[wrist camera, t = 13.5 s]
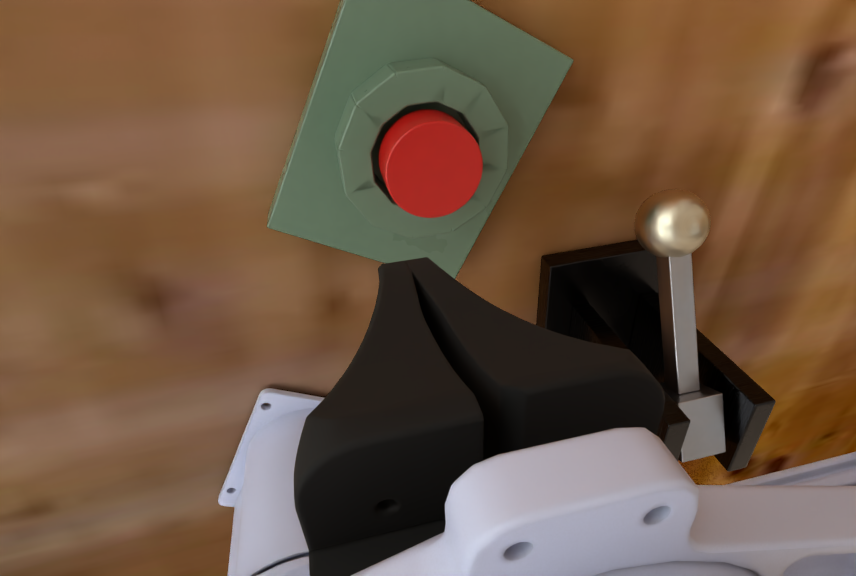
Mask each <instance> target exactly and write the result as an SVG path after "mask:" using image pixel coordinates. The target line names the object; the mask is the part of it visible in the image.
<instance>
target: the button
mask: <svg viewBox="0 0 856 576" xmlns="http://www.w3.org/2000/svg"><path fill="white" fill-rule="evenodd" d="M379 168H380V172H381V175H382V177H383V180H384V182H385V184H386V187H387V189H388V191H389V193H390V195H391V197H392V199H393V200H394V201H395V203H396V204H397V205H398V206H399V207H401V208H402V209H403V210H404V211H406V212H408V213H410V214H412V215H415V216H418V217H424V218H436V217H442V216H445V215H448V214H451V213H453V212H455V211H456V210H458V209H460V208H461V207H462V206H463V205H465V204H466V203H467V202H468V201H469V200H470V198H471V197H472V196H473V195H474V193H475V191H476V190H477V188H478V185H479V183H480V180H481V177H482V171H483V159H482V154H481V150H480V148H479V145H478V143H477V142H476V140H475V139H474V137H473V136H472V135H471V134H470V133H469V132H468V131H467V130H466V129H465V128H464V127H463V126H462V125H461V124H460V123H459V122H458V121H457V120H456V119H455V118H453V117H452V116H450V115H449V114H447V113H444V112H442V111H438V110H433V109H422V110H417V111H413V112H410V113H408V114H406V115H404V116H402V117H401V118H399V119H398V120H397V121H396V122H395V123H393V124H392V126H391V127H390V128H389V129H388V131H387V132H386V134H385V136H384V138H383V140H382V142H381V145H380V149H379Z"/></svg>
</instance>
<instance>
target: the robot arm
mask: <svg viewBox="0 0 856 576" xmlns="http://www.w3.org/2000/svg"><path fill="white" fill-rule="evenodd" d="M378 273H379V290H378V295H377V300H376V305H375V309H374V312H373V315H372V318H371V321H370V324H369V327H368V330H367V332H366V334H365V337H364V339H363V341H362V343H361V345H360V347H359V349H358V351H357V353H356V355H355V357H354V358H353V360H352V362H351V364H350V365H349V367H348V368H347V370H346V371H345V373H344V374H343V376H342V377H341V378H340V380H339V381H338V382H337V384H336V385H335V386H334V388H333V389H332V390H331V392H330V393H329V394H328V395H327V396H326V397H325V398H324V397H318V396H312V395H307V394H301V393H295V392H290V391H284V390H278V389H273V388H267V389H264V390H262V391H261V392H260V394H259V396H258V399H257V401H256V404H255V406H254V409H253V411H252V414H251V416H250V419H249V421H248V424H247V426H246V429H245V431H244V434H243V436H242V439H241V441H240V444H239V446H238V449H237V451H236V454H235V457H234V459H233V462H232V464H231V467H230V469H229V472H228V474H227V477H226V479H225V482H224V484H223V487H222V489H221V492H220V494H219V499H218V503H219V504H220V505H222V506H229V507H235V509H234V519H233V529H232V538H231V548H230V558H229V567H228V576H856V452H853V453H849V454H845V455H841V456H837V457H833V458H829V459H825V460H822V461H818V462H814V463H810V464H806V465H802V466H798V467H794V468H790V469H786V470H782V471H778V472H774V473H770V474H766V475H762V476H758V477H755V478H751V479H747V480H743V481H739V482H735V483H731V484H727V485H696V484H695V483H694V482H693V480H692V479H691V478H690V477H689V475H688V474H687V473H686V471H685V470H684V469H683V467H682V466H681V465H680V464H679V462H678V461H677V460H676V458H675V457H674V456H673V455H672V453H671V452H670V451H669V449H668V448H667V447H666V445H665V444H664V443H663V442H662V440H661V439H660V438H659V437H658V436H656V435H657V431H658V428H659V424H660V421H661V417H662V414H663V410H664V403H665V395H664V391H663V388H662V386H661V385H660V383H659V382H658V381H657V380H656V379H655V377H654V376H653V375H652V374H651V373H650V371H649V370H648V369H647V368H646V367H645V365H644V364H643V363H642V362H641V361H640V360H639V359H638V358H637V357H636V356H635V355H634V354H633V353H632V352H631V351H630V350H628V349H623V348H618V347H613V346H607V345H602V344H597V343H592V342H588V341H584V340H580V339H576V338H573V337H569V336H565V335H562V334H559V333H556V332H553V331H550V330H547V329H545V328H542V327H539V326H537V325H534V324H531V323H529V322H527V321H524V320H522V319H520V318H518V317H516V316H514V315H512V314H510V313H507V312H505V311H503V310H501V309H500V308H498V307H496V306H494V305H492V304H491V303H489V302H488V301H486V300H484V299H483V298H481V297H479V296H478V295H476V294H475V293H473V292H472V291H470V290H469V289H467V288H466V287H465V286H463V285H462V284H461V283H459V282H458V281H457V280H455V279H454V278H453V277H451V276H450V275H449V274H448V273H446V272H445V271H444V270H443V269H441V268H440V267H439V266H438V265H437V264H435V263H434V262H433V261H432V260H430V259H429V258H428V257H424V258H418V259H411V260H405V261H398V262H392V263H386V264H381V266H380V267H379V268H378ZM263 403H269V404H268V405H264V404H263Z"/></svg>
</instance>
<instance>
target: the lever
mask: <svg viewBox="0 0 856 576" xmlns="http://www.w3.org/2000/svg"><path fill="white" fill-rule="evenodd" d="M710 225H711V219H710V213H709V211H708V208H707V207H706V205H705V203H704V202H703V201H702V200H701V199H700V198H699V197H698V196H696V195H695V194H693V193H691V192H688V191H685V190H681V189H668V190H664V191H660V192H658V193H655V194H654V195H652V196H651V197H649V198H648V199H647V200H645V201H644V203H643V204H642V205H641V206H640V208H639V209H638V211H637V214H636V216H635V221H634V230H635V235H636V237H637V240H638V241H639V243H640V244H641V246H642V247H643V248H644V249H645V250H646V251H648V252H649V253H651V254H653V255H655V256H656V264H657V278H658V291H659V305H660V318H661V332H662V345H663V359H664V372H665V382H662V383H660V385H661V386H662V388H663V389H664V390H665V392H666V393H667V394H668V395H669V396H670V397H671V398H672V400H673V401H674V402H675V403H676V404H677V405H678V407H679V408H680V409H681V410H682V411H683V412H684V414H685V415H686V416H687V417H688V418H689V419H690V421H691V422H690V425H689V428H688V431H687V434H686V437H685V440H684V443H683V446H682V449H681V452H680V455H679V458H678V460H680V461H681V462H687V461H691V460H695V459H699V458H703V457H707V456H711V455H715V454H719V453H723V452H726V444H725V426H724V408H723V394H722V393H721V392H718V391H716V390H714V389H712V388H710V387H707V386H705V385H703V384H701V383H700V381H699V365H698V349H697V333H696V317H695V301H694V285H693V269H692V252H694V251H695V250H697V249H698V248H699V247H700V246H701V245H702V244H703V242H704V241H705V240H706V238H707V236H708V234H709V231H710Z"/></svg>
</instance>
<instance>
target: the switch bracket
mask: <svg viewBox="0 0 856 576" xmlns="http://www.w3.org/2000/svg"><path fill="white" fill-rule="evenodd" d="M536 325H537V326H539V327H542V328H545V329H547V330H550V331H553V332H556V333H559V334H562V335H565V336H569V337H573V338H576V339H580V340H584V341H588V342H592V343H597V344H602V345H607V346H613V347H618V348H623V349H628V350H630V351H631V352H632V353H633V354H634V355H635V356H636V357H637V358H638V359H639V360H640V361H641V362H642V363H643V364H644V365H645V367H646V368H647V369H648V370H649V371H650V373H651V374H652V375H653V376H654V377H655V379H656V380H657V381H658V382H659V383H662V382H665V372H664V359H663V345H662V332H661V318H660V305H659V291H658V278H657V264H656V256H655V255H653V254H651V253H649V252H648V251H646V250H645V249H644V248H643V247H642V246H641V244H640V243H639V241H638V240H633V241H627V242H622V243H616V244H610V245H604V246H598V247H592V248H586V249H580V250H574V251H568V252H562V253H556V254H550V255H544V256H542V258H541V271H540V284H539V297H538V310H537V323H536ZM696 333H697V349H698V365H699V381H700V383H701V384H703V385H705V386H707V387H710V388H712V389H714V390H716V391H718V392H721V393H722V394H723V408H724V426H725V444H726V452H723V453H719V454H715V455H714V456H715V457H716V458H717V460H718V461H719V462H720V463H721V464H722V465H723V467H724V468H725V469H726V470H727V471H733V470H737V469H741V468H745V467H746V466H747V464H748V462H749V459H750V457H751V455H752V453H753V451H754V448H755V446H756V444H757V442H758V440H759V437H760V435H761V433H762V431H763V429H764V426H765V424H766V422H767V420H768V418H769V415H770V413H771V411H772V409H773V406H774V404H775V400H774V399H773V398H772V397H771V396H770V395H769V394H768V393H767V392H766V391H764V390H763V389H762V388H761V387H760V386H759V385H758V384H757V383H756V382H755V381H753V380H752V379H751V378H750V377H749V376H748V375H747V374H746V373H745V372H744V371H743V370H741V369H740V368H739V367H738V366H737V365H736V364H735V363H734V362H733V361H732V360H730V359H729V358H728V357H727V356H726V355H725V354H724V353H723V352H722V351H721V350H720V349H718V348H717V347H716V346H715V345H714V344H713V343H712V342H711V341H710V340H709V339H707V338H706V337H705V336H704V335H703V334H702V333H701V332H700V331H699V330H698V329H697V328H696ZM663 391H664V395H665V403H664V410H663V414H662V417H661V421H660V424H659V428H658V431H657V435H656V436H658V437H659V438H660V439H661V440H662V442H663V443H664V444H665V445H666V447H667V448H668V449H669V451H670V452H671V453H672V455H673V456H674V457H675V458H676V460H677V461H678V458H679V455H680V452H681V449H682V446H683V443H684V440H685V437H686V434H687V431H688V428H689V425H690V422H691V421H690V419H689V418H688V417H687V416H686V415H685V414H684V412H683V411H682V410H681V409H680V408H679V407H678V405H677V404H676V403H675V402H674V401H673V400H672V398H671V397H670V396H669V395H668V394H667V393H666V392H665V390H664V389H663Z"/></svg>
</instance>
